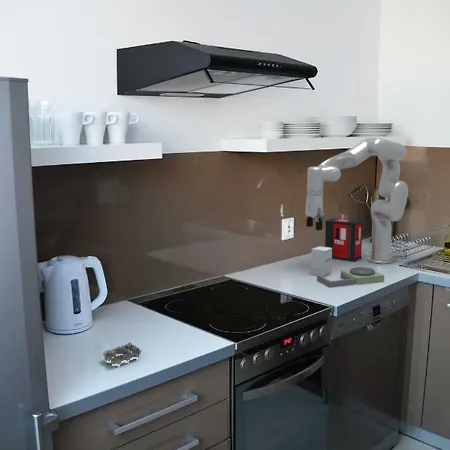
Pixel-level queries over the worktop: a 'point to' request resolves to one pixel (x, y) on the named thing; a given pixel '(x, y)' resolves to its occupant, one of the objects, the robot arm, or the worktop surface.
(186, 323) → the worktop surface
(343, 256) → the cleaning product box
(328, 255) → the supplement box
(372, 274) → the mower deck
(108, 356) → the grey lumpy cluster
